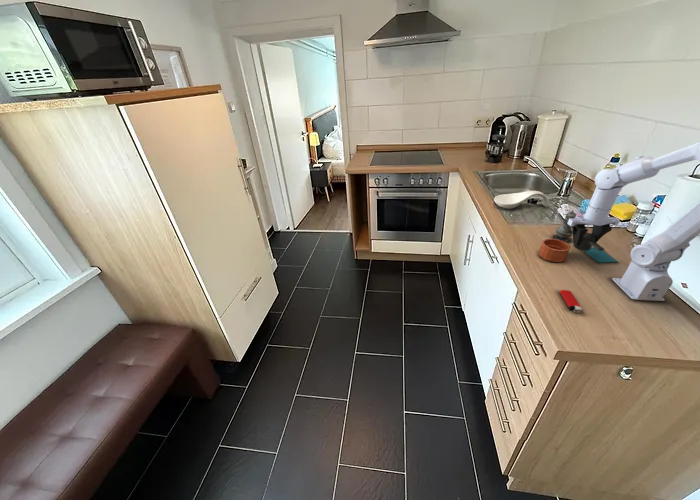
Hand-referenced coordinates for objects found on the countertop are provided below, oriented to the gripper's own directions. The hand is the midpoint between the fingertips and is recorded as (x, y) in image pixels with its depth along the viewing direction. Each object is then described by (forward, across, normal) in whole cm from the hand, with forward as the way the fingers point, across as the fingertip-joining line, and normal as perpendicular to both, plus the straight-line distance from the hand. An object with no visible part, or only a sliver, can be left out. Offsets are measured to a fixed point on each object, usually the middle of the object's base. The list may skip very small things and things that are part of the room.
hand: (583, 243), depth 97 cm
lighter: (+5, +16, +23) cm, 29 cm away
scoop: (+1, 0, +2) cm, 3 cm away
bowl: (+5, +9, 0) cm, 10 cm away
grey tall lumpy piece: (+5, -1, -12) cm, 13 cm away
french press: (+6, -17, -120) cm, 121 cm away
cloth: (+5, -7, 0) cm, 9 cm away
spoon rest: (+5, 0, -43) cm, 44 cm away
